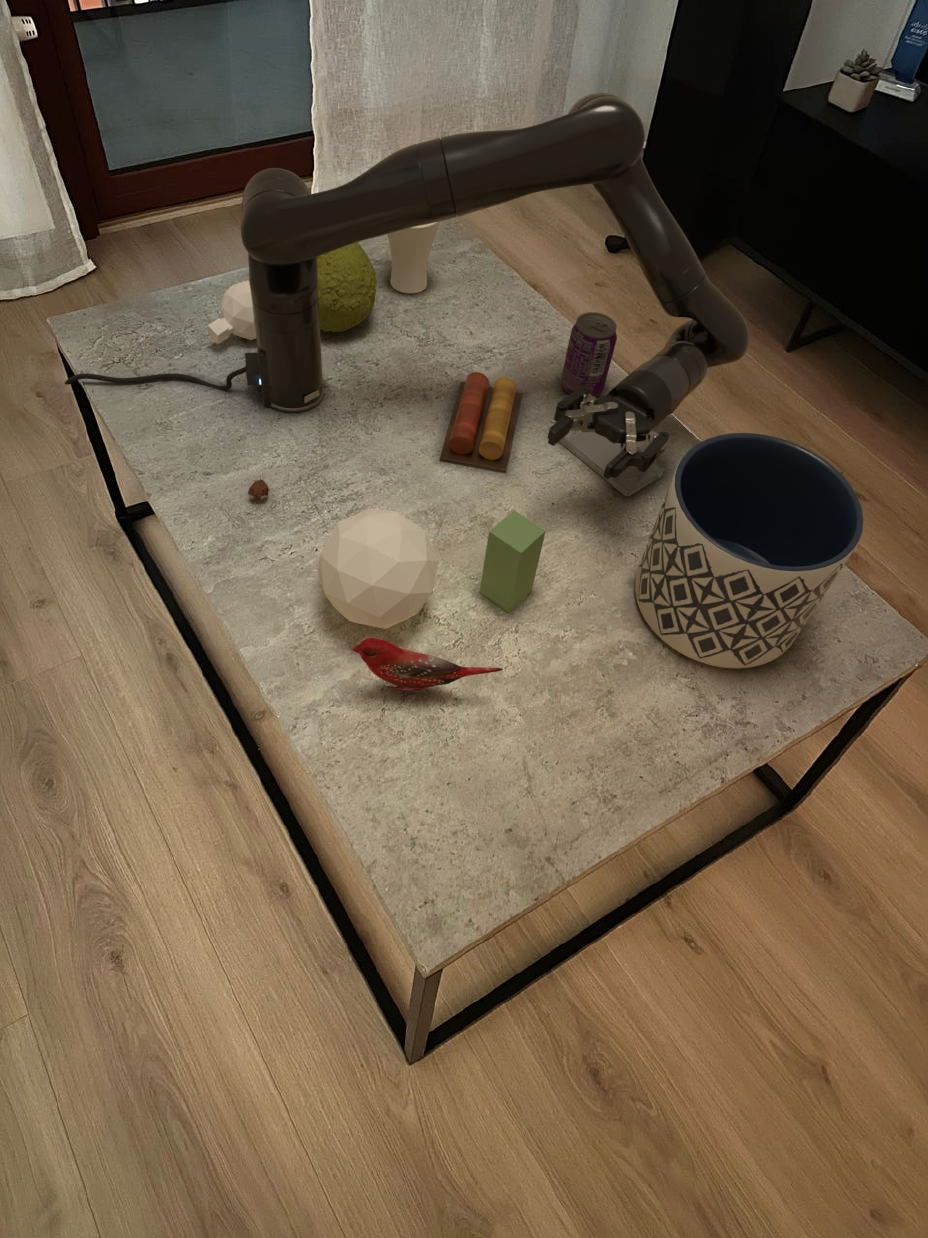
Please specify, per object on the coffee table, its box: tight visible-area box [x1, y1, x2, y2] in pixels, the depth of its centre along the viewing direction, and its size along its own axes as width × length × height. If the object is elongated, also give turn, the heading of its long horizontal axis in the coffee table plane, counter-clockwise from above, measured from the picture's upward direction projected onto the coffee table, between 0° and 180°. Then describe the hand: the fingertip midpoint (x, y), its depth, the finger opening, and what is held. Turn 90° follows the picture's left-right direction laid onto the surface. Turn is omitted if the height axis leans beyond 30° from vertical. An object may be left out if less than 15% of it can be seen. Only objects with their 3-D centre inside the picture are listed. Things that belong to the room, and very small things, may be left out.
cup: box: [386, 221, 442, 294], centre depth 153 cm, size 10×10×14 cm
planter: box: [634, 432, 865, 669], centre depth 113 cm, size 22×22×20 cm
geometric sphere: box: [317, 507, 439, 630], centre depth 111 cm, size 14×15×15 cm
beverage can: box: [560, 311, 618, 398], centre depth 141 cm, size 7×7×12 cm
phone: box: [558, 416, 664, 497], centre depth 136 cm, size 8×16×1 cm, turn 40°
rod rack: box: [439, 371, 523, 474], centre depth 136 cm, size 18×10×4 cm, turn 170°
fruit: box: [317, 242, 378, 333], centre depth 146 cm, size 16×14×15 cm
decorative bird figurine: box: [350, 637, 504, 692], centre depth 105 cm, size 3×18×10 cm, turn 88°
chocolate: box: [247, 473, 272, 501], centre depth 124 cm, size 3×2×4 cm
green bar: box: [479, 509, 547, 614], centre depth 114 cm, size 5×5×12 cm
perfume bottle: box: [207, 279, 256, 345], centre depth 143 cm, size 9×9×12 cm
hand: (578, 456), depth 111 cm, fingers open, 8 cm apart
